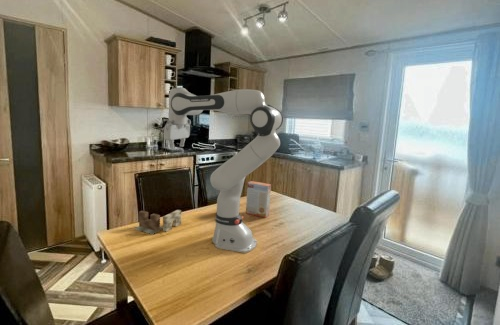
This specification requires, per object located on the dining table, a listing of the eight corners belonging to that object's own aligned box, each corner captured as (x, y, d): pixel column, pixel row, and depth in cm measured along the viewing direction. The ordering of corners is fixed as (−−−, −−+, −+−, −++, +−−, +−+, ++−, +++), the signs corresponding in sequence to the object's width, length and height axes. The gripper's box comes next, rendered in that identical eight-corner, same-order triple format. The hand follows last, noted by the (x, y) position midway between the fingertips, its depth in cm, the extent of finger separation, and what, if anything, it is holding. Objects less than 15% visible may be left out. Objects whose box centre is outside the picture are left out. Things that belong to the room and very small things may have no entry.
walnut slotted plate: (163, 228, 144) (163, 213, 142) (152, 234, 137) (152, 218, 135) (146, 224, 149) (146, 208, 147) (135, 229, 141) (134, 213, 140)
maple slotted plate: (177, 223, 152) (177, 209, 151) (181, 223, 152) (181, 210, 150) (162, 230, 142) (162, 216, 140) (166, 231, 141) (166, 217, 139)
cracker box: (269, 215, 173) (271, 183, 169) (265, 218, 167) (268, 186, 163) (249, 210, 178) (251, 180, 175) (245, 213, 173) (247, 182, 169)
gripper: (172, 121, 126) (172, 150, 129) (192, 120, 146) (191, 146, 148) (160, 120, 128) (160, 149, 130) (181, 119, 147) (181, 145, 150)
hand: (177, 147), depth 139 cm, fingers open, 8 cm apart
